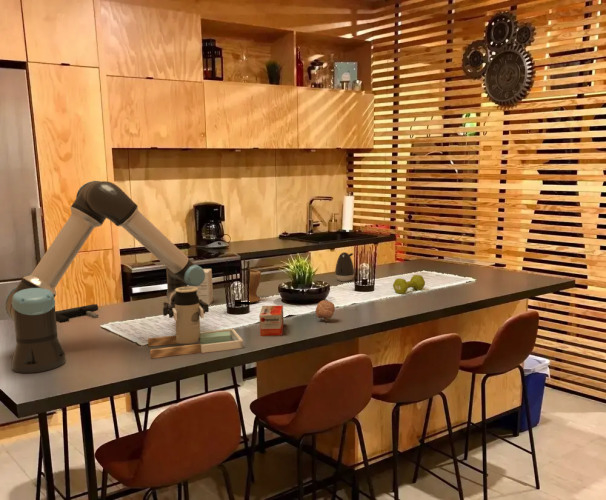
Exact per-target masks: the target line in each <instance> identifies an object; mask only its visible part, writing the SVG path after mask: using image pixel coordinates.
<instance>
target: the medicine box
mask: <svg viewBox="0 0 606 500" xmlns="http://www.w3.org/2000/svg"><path fill="white" fill-rule="evenodd" d="M258 318H259V332H260V335H259V336H260V337H266V336H267V337H269V336H270V337H272V336H283V330H284V329H283V328H284V305H283V304H282V305H262V306H261V309H260V313H259V317H258Z"/></svg>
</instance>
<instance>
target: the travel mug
mask: <svg viewBox="0 0 606 500" xmlns="http://www.w3.org/2000/svg"><path fill="white" fill-rule="evenodd" d="M197 290H198V288H196V287H189V286H187V287H180V288H176V289H175V291H176V297H175V310H176V312H177V321H175V335H176V341H177V342H178V343H177V344H182V345H193V344H197V343H198V342H200V332H201V320H200V318H201V317H200V315H199V297H198V295H197Z"/></svg>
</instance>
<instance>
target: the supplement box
mask: <svg viewBox="0 0 606 500" xmlns="http://www.w3.org/2000/svg"><path fill="white" fill-rule="evenodd" d="M202 269H203V270H204V272H205V279H204V281H203V283H202V284H200V285H199V286H189V285H188V287H196V288H198V290H197V295H198V297H199V300H200V299H201V300H202V301H203V302H205V303H206V304H208V306H209V305H211V304H212V302H213V301H214V293H213V292H214V291H213V290H214V289H213V273H212V272H213V271H212V268H202Z"/></svg>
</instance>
